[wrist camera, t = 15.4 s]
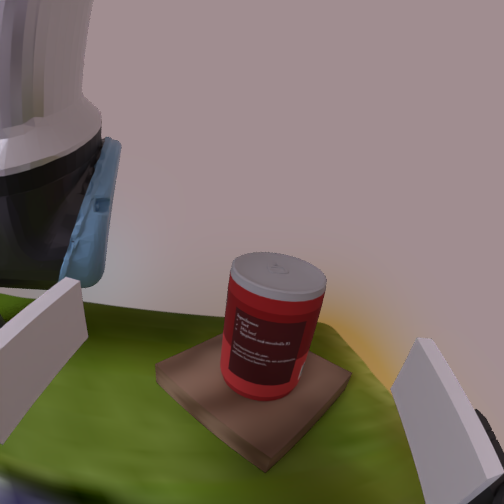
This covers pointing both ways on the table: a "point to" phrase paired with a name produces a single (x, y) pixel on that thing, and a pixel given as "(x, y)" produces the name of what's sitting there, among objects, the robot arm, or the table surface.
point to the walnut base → (250, 402)
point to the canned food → (269, 323)
